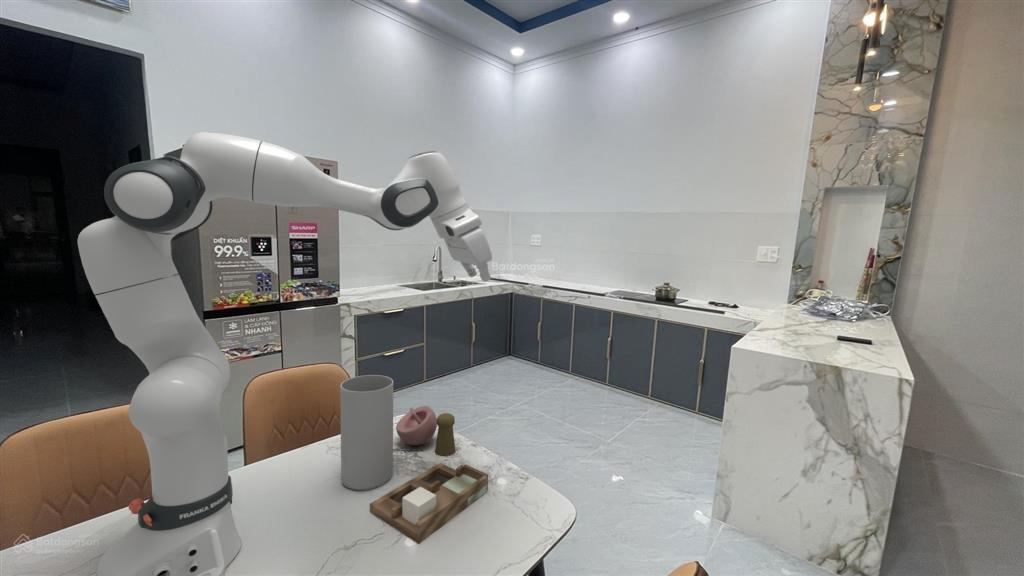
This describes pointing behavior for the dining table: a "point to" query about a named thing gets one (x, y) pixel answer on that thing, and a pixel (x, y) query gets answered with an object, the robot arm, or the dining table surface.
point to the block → (418, 505)
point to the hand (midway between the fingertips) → (480, 278)
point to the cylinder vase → (366, 431)
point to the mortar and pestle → (417, 426)
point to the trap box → (451, 499)
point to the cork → (445, 435)
